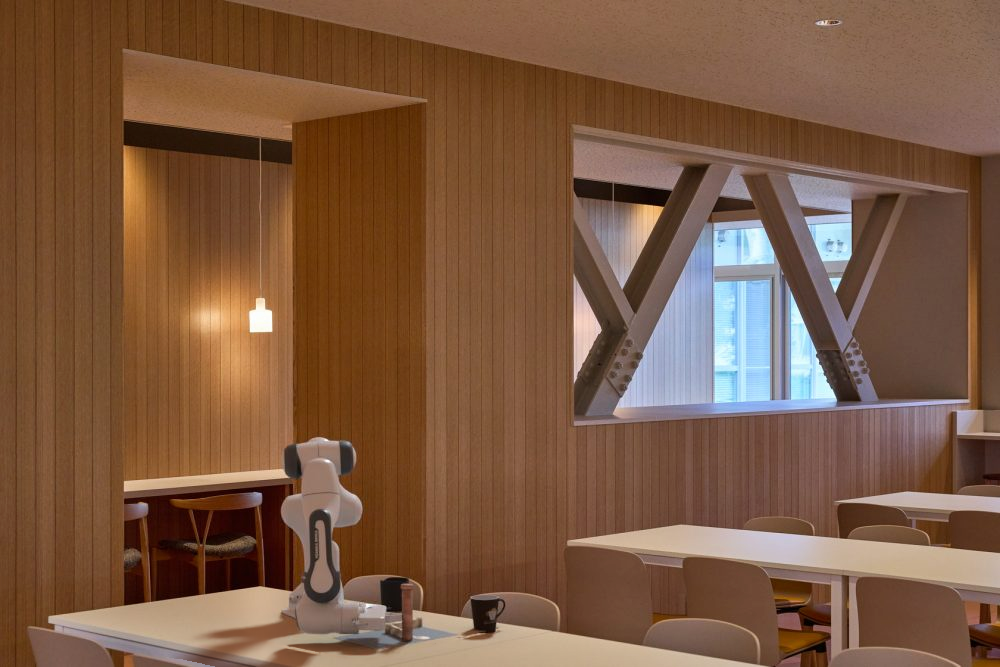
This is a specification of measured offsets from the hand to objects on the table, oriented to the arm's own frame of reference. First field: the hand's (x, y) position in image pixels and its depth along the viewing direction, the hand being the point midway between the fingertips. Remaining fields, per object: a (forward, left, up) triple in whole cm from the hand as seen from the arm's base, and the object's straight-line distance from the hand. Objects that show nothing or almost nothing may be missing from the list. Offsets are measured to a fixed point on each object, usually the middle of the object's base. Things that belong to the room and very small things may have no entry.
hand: (402, 617), depth 354 cm
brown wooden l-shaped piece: (-4, +3, -6) cm, 8 cm away
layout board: (-7, +3, -7) cm, 11 cm away
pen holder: (-45, +32, -8) cm, 55 cm away
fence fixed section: (-13, +11, -7) cm, 18 cm away
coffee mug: (+3, +31, -8) cm, 32 cm away
